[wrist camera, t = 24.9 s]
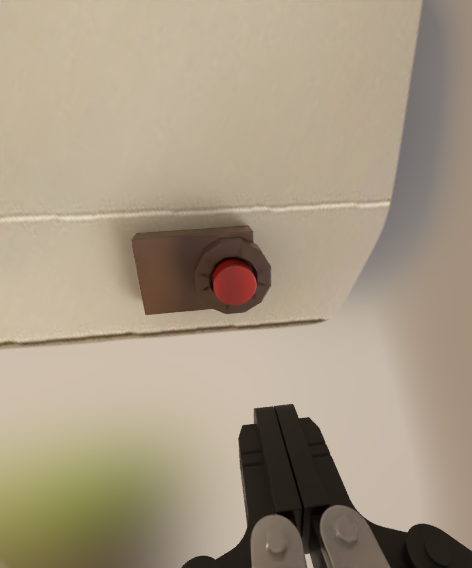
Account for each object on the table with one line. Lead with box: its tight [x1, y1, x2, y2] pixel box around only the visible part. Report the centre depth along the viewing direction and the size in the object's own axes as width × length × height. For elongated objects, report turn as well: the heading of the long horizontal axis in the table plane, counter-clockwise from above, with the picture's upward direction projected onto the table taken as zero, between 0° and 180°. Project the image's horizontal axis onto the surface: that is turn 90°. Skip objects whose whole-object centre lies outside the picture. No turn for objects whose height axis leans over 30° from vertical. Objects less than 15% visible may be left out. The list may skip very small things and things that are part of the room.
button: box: [213, 259, 257, 305], centre depth 24 cm, size 3×3×2 cm
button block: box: [131, 226, 271, 315], centre depth 26 cm, size 11×7×4 cm, turn 93°
